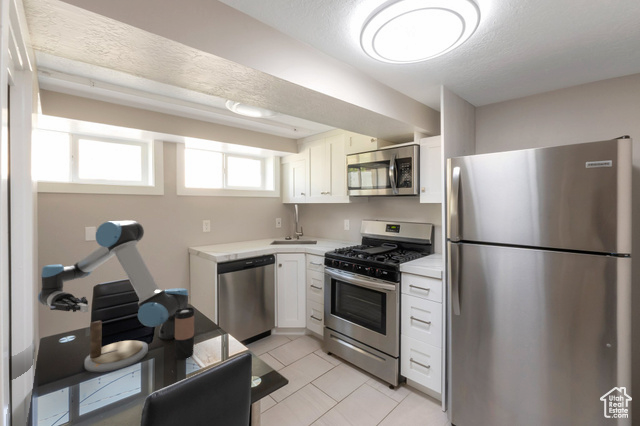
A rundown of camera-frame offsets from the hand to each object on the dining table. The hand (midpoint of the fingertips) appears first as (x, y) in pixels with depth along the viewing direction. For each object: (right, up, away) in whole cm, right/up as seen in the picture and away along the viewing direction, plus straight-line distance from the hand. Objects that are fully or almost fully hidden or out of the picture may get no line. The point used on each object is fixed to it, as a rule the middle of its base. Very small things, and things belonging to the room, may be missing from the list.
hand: (86, 308), depth 117 cm
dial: (+13, -19, +1) cm, 23 cm away
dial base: (+13, -21, +1) cm, 25 cm away
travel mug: (+41, -22, +3) cm, 46 cm away
